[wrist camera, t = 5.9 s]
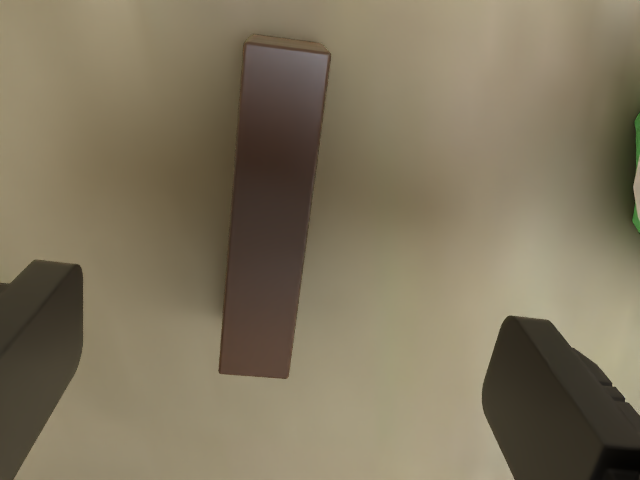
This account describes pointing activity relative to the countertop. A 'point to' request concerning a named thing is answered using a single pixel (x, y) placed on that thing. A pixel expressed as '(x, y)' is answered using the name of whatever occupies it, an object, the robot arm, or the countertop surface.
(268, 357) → the stick
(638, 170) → the cup
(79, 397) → the countertop surface
